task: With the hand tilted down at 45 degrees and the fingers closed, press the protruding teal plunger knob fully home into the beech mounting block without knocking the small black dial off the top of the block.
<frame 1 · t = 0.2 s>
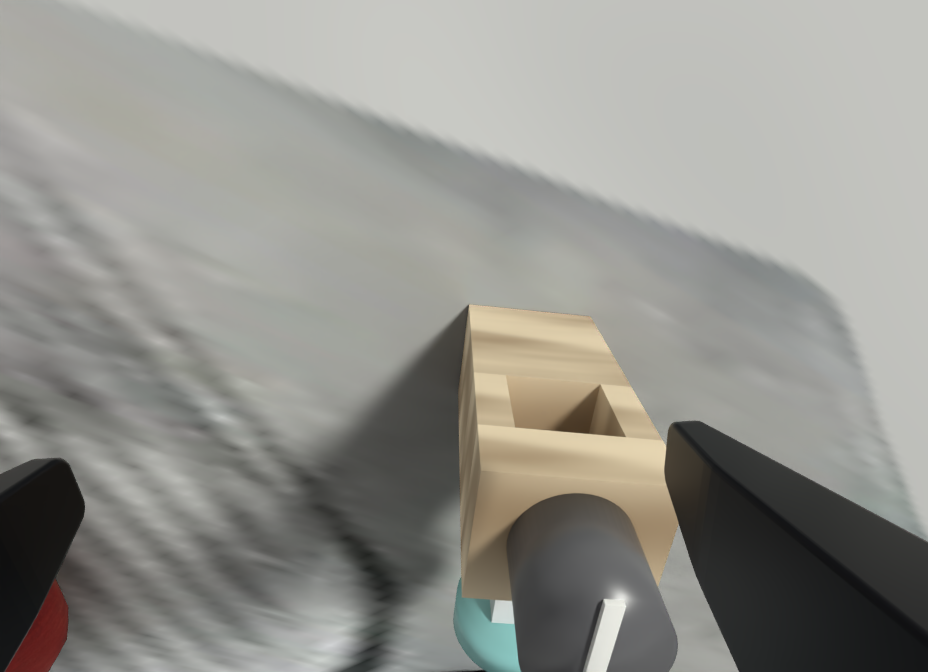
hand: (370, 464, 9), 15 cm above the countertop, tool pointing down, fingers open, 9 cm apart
onion: (45, 568, 29), on the countertop
knob: (529, 559, 19), point 7 cm above the countertop, slide at 3.5 cm
mount: (522, 354, 25), on the countertop
dial: (570, 545, 15), point 11 cm above the countertop, touching mount
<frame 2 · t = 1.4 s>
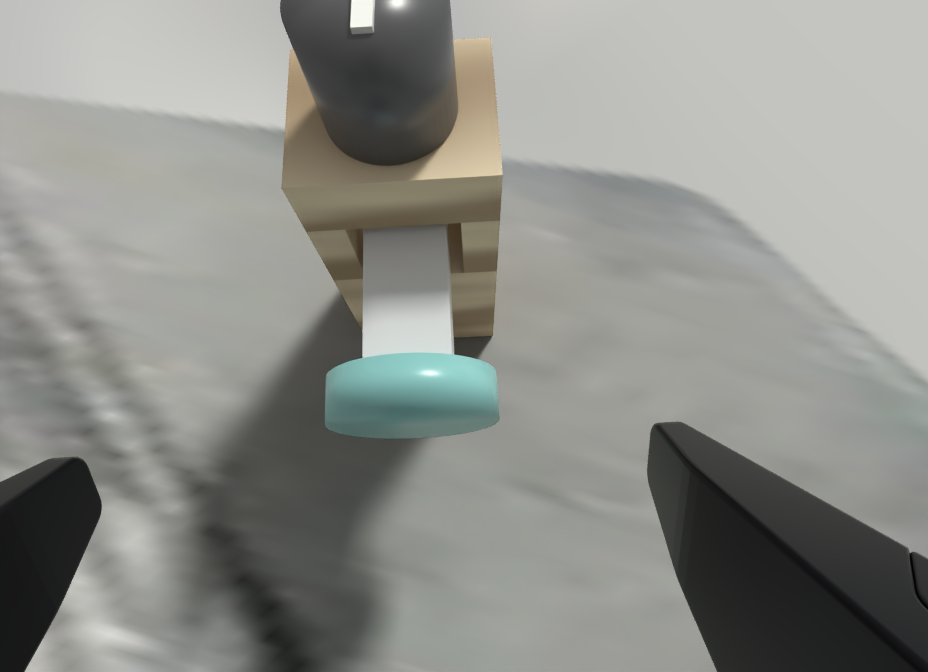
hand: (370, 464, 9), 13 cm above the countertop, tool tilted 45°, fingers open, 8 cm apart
knob: (410, 316, 16), point 8 cm above the countertop, slide at 3.5 cm
mount: (429, 293, 24), on the countertop
dial: (390, 108, 14), point 11 cm above the countertop, touching mount
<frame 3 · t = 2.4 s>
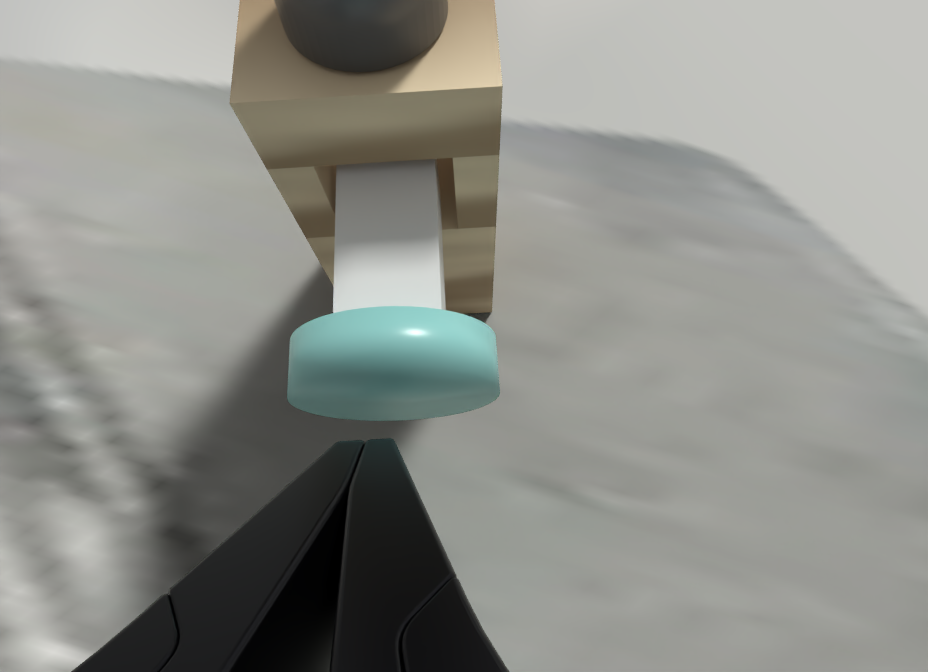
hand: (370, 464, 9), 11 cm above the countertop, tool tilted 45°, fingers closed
knob: (393, 273, 13), point 7 cm above the countertop, slide at 3.5 cm
mount: (420, 266, 22), on the countertop
dial: (365, 9, 11), point 11 cm above the countertop, touching mount
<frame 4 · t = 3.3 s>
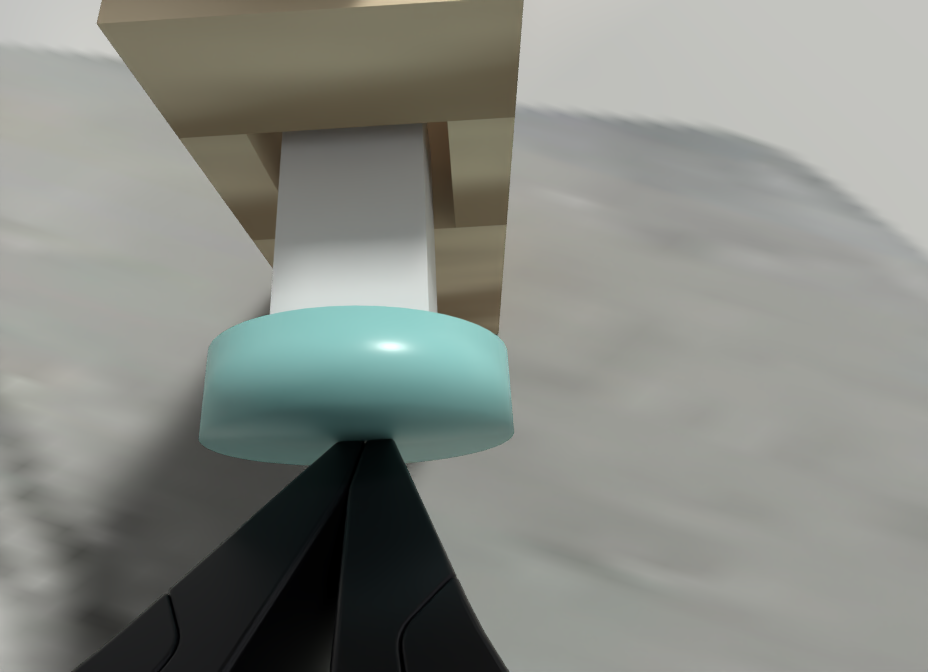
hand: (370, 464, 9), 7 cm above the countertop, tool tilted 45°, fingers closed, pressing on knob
knob: (364, 263, 10), point 7 cm above the countertop, slide at 3.0 cm, touching gripper
mount: (411, 277, 18), on the countertop
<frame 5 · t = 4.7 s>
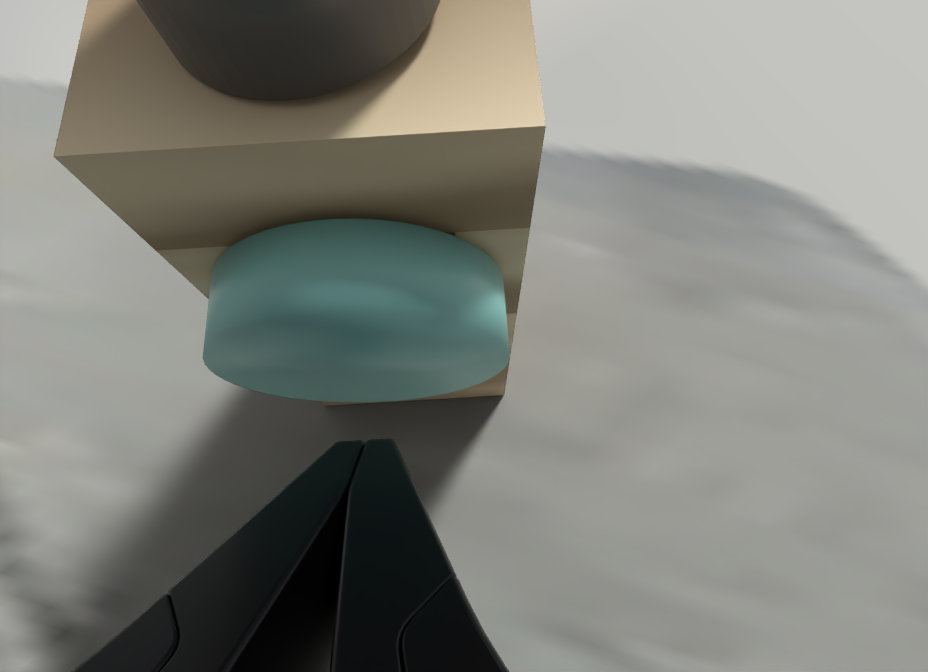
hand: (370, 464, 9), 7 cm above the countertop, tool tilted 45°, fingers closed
knob: (363, 198, 10), point 8 cm above the countertop, slide at 0.0 cm
mount: (412, 332, 17), on the countertop
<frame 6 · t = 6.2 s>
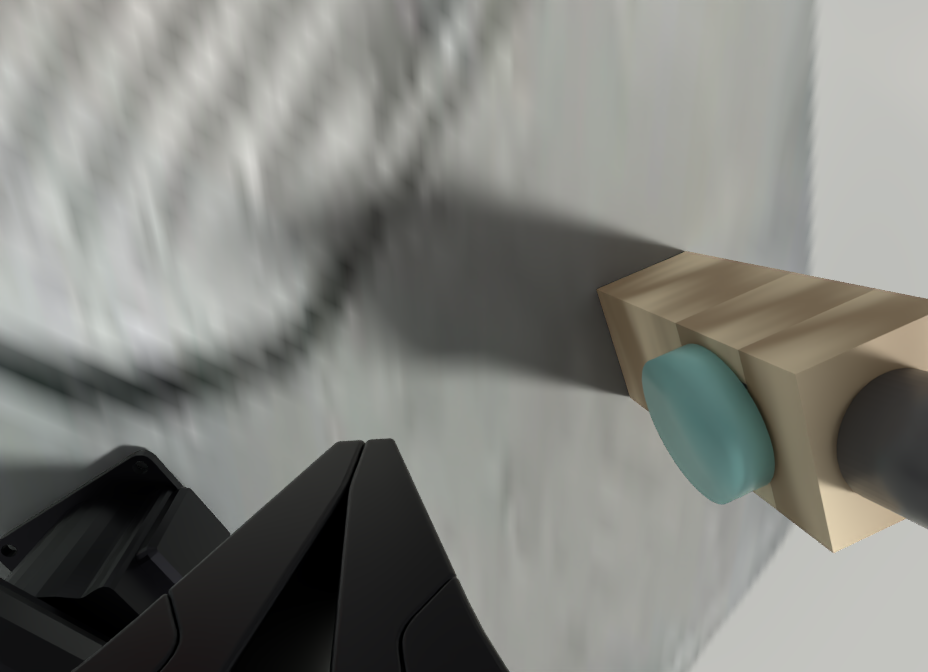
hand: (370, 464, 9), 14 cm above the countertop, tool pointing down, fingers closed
knob: (773, 390, 17), point 7 cm above the countertop, slide at 0.0 cm
mount: (657, 326, 24), on the countertop
dial: (895, 435, 14), point 11 cm above the countertop, touching mount
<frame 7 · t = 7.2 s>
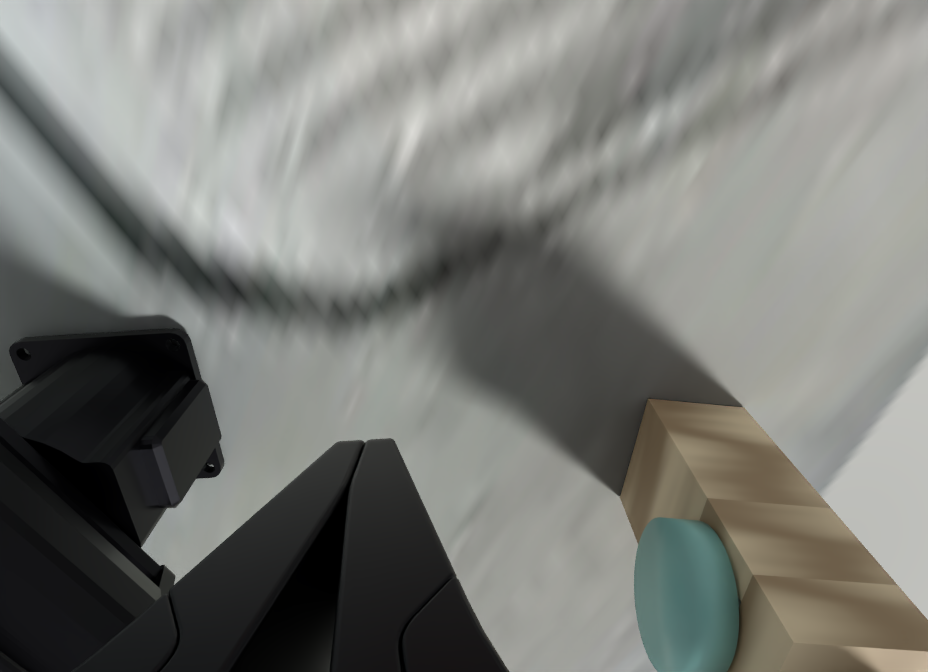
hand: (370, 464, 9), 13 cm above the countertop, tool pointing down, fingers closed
knob: (754, 600, 18), point 8 cm above the countertop, slide at 0.0 cm
mount: (679, 454, 25), on the countertop
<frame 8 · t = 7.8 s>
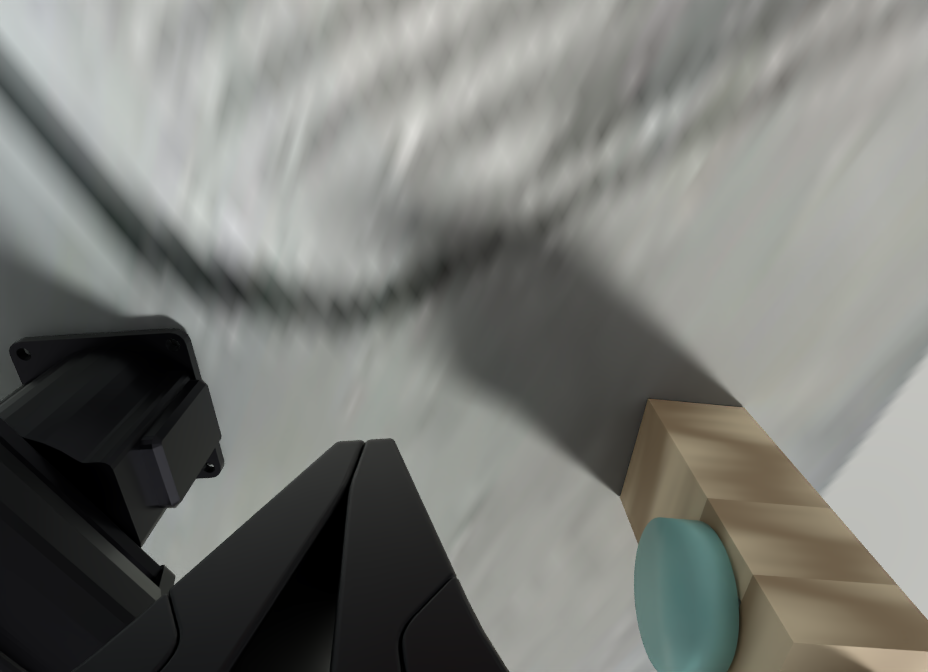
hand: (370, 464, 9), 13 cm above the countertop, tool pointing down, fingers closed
knob: (754, 600, 18), point 8 cm above the countertop, slide at 0.0 cm
mount: (679, 454, 25), on the countertop
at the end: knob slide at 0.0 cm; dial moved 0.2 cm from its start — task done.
